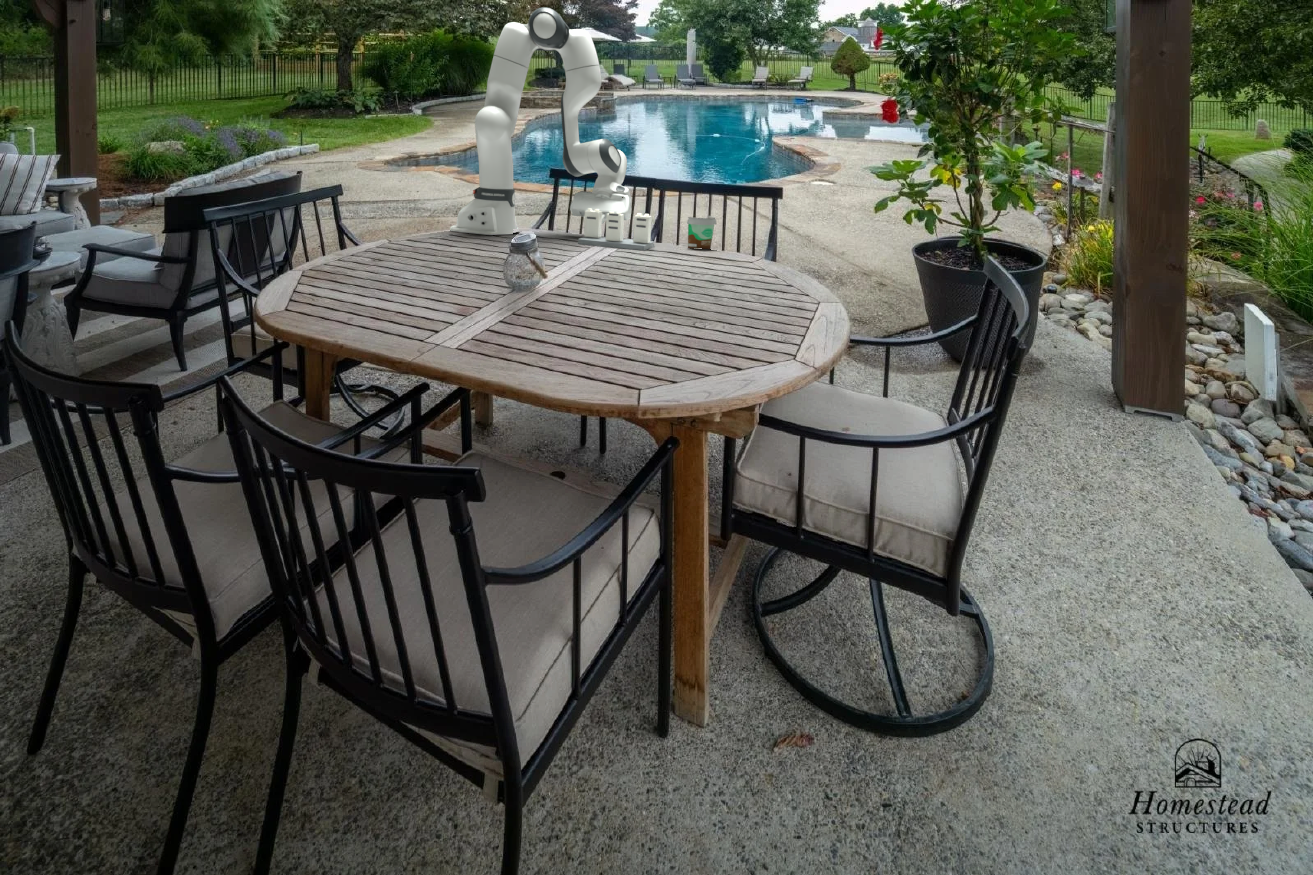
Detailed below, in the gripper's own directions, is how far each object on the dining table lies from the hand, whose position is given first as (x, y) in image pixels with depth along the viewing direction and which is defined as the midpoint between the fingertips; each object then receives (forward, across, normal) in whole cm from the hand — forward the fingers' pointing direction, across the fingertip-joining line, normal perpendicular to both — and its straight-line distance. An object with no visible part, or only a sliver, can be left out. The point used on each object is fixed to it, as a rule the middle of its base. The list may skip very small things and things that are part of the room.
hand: (595, 226), depth 245 cm
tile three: (+6, +8, -2) cm, 11 cm away
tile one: (+4, 0, +1) cm, 4 cm away
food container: (-2, +35, +10) cm, 36 cm away
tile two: (+5, +17, 0) cm, 18 cm away
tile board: (+6, +8, +1) cm, 10 cm away
